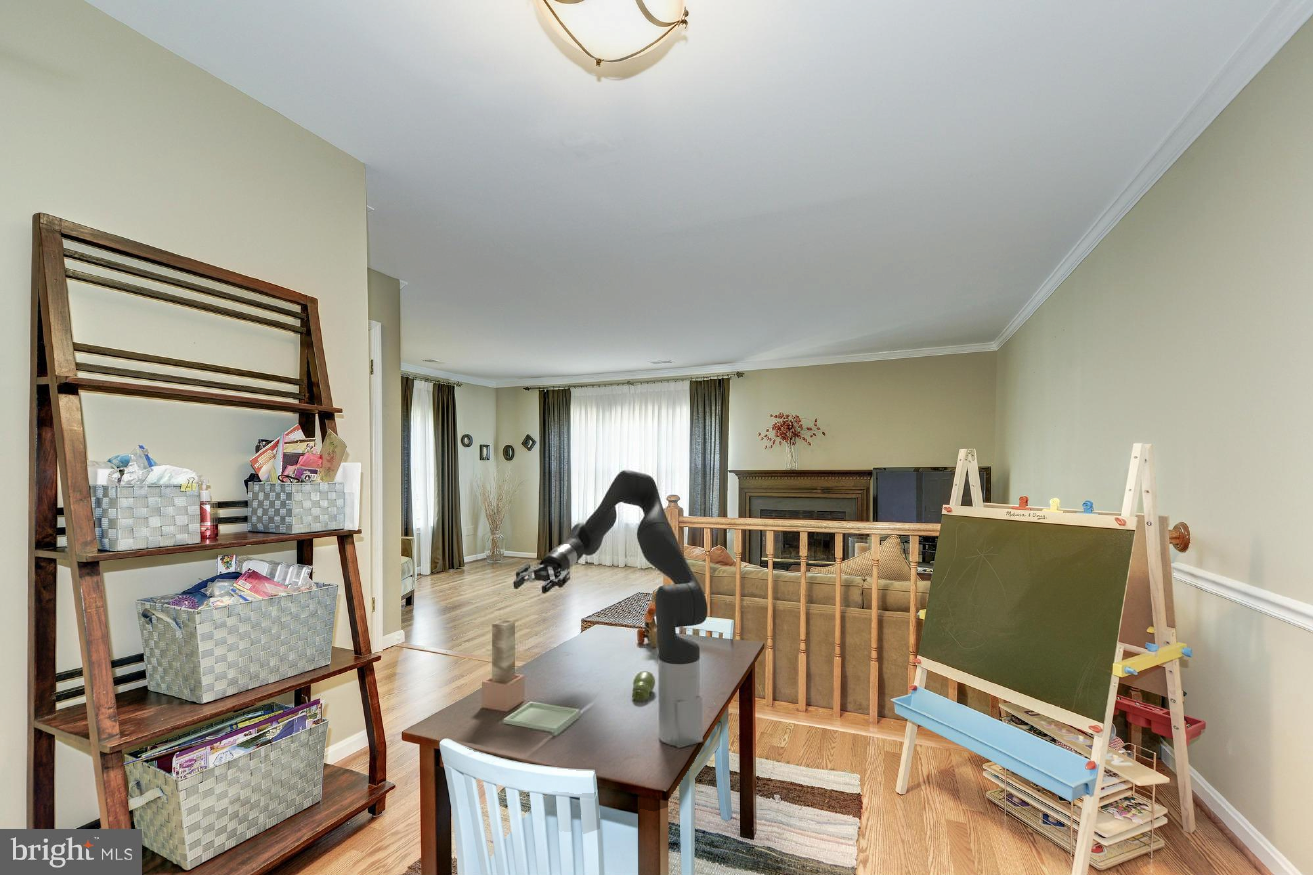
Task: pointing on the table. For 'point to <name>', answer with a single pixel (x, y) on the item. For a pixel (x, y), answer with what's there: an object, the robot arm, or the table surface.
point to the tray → (543, 717)
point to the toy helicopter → (649, 627)
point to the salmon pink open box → (503, 693)
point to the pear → (643, 686)
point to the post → (503, 651)
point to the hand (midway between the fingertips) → (528, 588)
